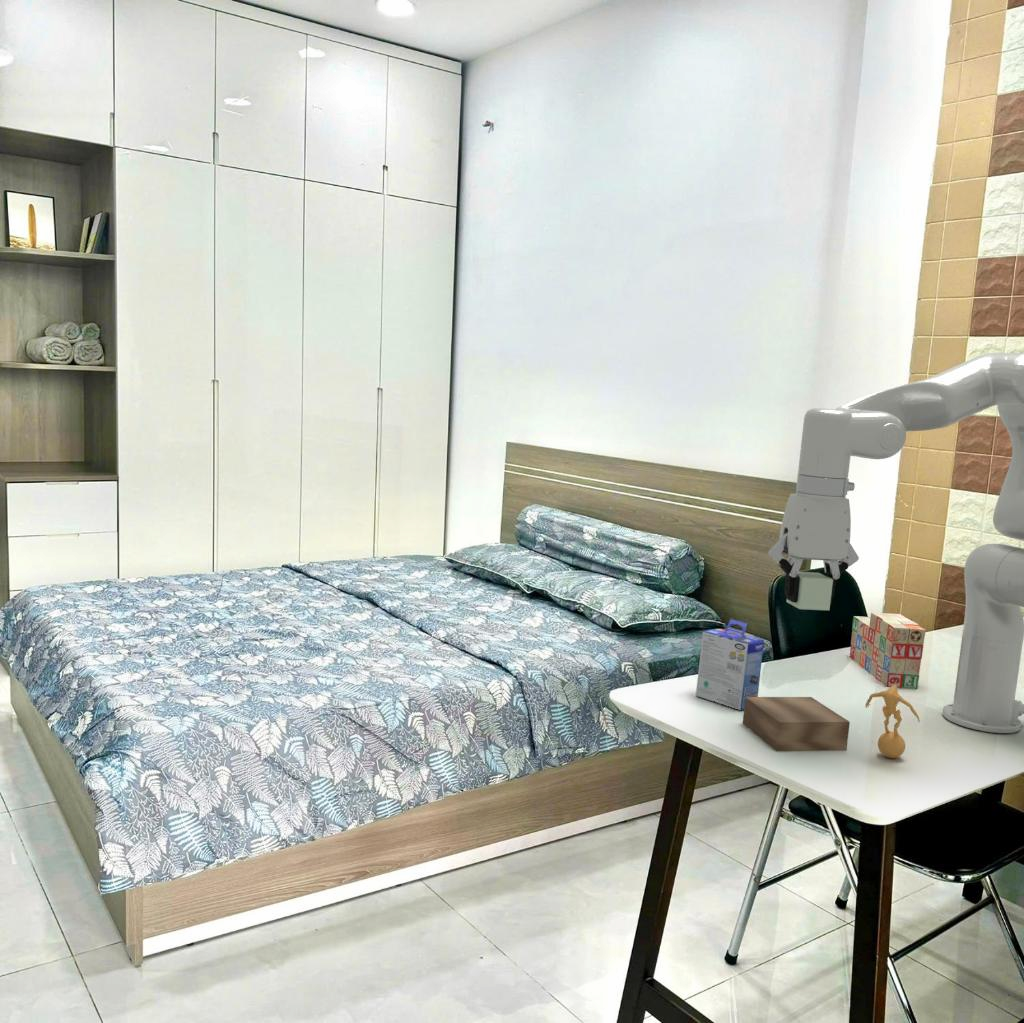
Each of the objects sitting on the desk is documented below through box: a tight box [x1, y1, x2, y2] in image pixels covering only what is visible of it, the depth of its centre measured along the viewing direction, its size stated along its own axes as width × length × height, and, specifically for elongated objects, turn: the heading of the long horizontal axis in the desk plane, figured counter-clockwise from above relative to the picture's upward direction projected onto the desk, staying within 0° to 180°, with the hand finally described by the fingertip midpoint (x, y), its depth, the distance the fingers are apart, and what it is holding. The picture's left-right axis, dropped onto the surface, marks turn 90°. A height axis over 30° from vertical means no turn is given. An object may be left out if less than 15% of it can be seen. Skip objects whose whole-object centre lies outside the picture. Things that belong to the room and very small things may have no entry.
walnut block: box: [742, 696, 851, 752], centre depth 157 cm, size 12×12×5 cm
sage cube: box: [785, 571, 833, 611], centre depth 154 cm, size 5×5×5 cm
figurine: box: [864, 685, 920, 759], centre depth 149 cm, size 8×6×12 cm
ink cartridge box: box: [695, 618, 765, 711], centre depth 172 cm, size 10×6×14 cm, turn 44°
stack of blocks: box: [849, 611, 927, 690], centre depth 199 cm, size 21×6×12 cm, turn 0°
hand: (808, 600), depth 155 cm, fingers closed on sage cube, 5 cm apart
